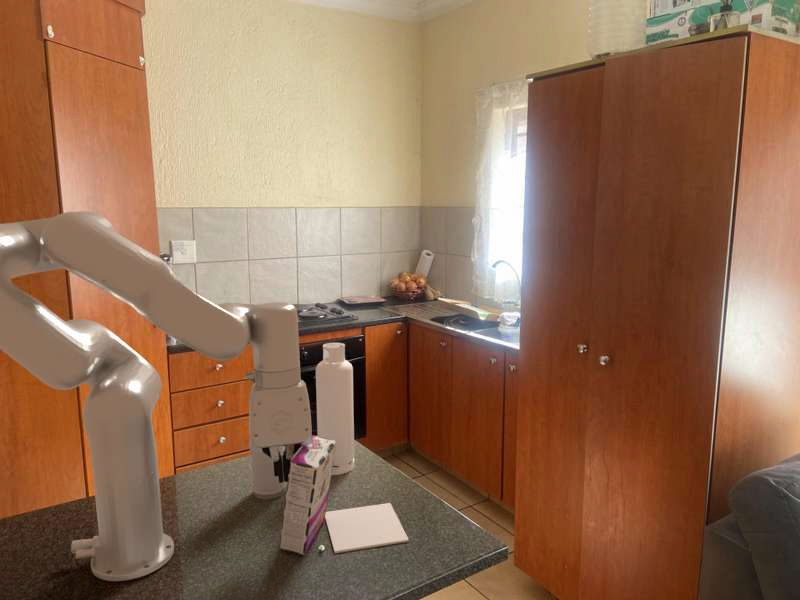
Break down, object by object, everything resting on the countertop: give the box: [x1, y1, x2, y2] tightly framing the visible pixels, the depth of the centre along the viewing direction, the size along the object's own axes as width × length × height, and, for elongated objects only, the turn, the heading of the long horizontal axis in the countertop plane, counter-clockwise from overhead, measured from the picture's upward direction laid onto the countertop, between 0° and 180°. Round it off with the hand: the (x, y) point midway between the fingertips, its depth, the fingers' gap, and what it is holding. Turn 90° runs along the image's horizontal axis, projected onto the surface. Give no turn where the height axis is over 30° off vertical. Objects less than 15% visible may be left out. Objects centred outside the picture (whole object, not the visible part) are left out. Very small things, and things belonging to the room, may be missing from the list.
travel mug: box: [251, 445, 286, 501], centre depth 117 cm, size 6×7×20 cm
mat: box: [325, 502, 410, 554], centre depth 106 cm, size 13×13×1 cm
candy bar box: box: [278, 435, 336, 556], centre depth 101 cm, size 11×5×16 cm, turn 170°
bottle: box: [315, 342, 355, 476], centre depth 128 cm, size 8×8×28 cm
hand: (283, 478), depth 100 cm, fingers closed
